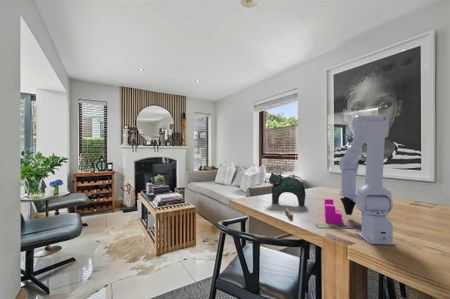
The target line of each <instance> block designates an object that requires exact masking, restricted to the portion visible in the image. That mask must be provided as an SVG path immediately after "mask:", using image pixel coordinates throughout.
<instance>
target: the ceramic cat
mask: <svg viewBox="0 0 450 299" xmlns="http://www.w3.org/2000/svg"><path fill="white" fill-rule="evenodd" d="M282 171H285V172H288V171H287V170H286V169H285V168H282V169H280V173H279V174H278V173H274V172H271V173H270V176H269V178H268V179H269V180H268V181H269V183H270V184H271V185H272V188H271V203H272V204H273V203H274V204H275V205H278V204H279V203H278V202H279V201H280V196H281V195H282V194H284V193H285V194H286V193H290V194H293V195H295V196H296V198H297V202H298V203H297V204H298V206H299V207H304V206H305V201H306V189H305V187H304V186H305V185H304V181H303V180H302V178H301V177H300V176H297V175H294V176H292V175H287V176H283V175H282V173H281V172H282ZM277 203H278V204H277Z"/></svg>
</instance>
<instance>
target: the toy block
mask: <svg viewBox="0 0 450 299" xmlns="http://www.w3.org/2000/svg"><path fill="white" fill-rule="evenodd" d="M324 221H325V223H324V224H333V225H343V214H342V212H341V209H340V210H339V209H336V205H335V204H334V198H324Z"/></svg>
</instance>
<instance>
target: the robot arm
mask: <svg viewBox="0 0 450 299" xmlns="http://www.w3.org/2000/svg"><path fill="white" fill-rule="evenodd" d="M351 126H352V130H353V138H352V142H351V145H349V146H347V148H346V150H345V153H344V154H343V155H344V156H342V157H340V159H339V162H338V163H339V166H338V167H339V170H340V171H341V173H340V174H341V190H340V191H339V196H341V197H340V199H339V200H340V201H341V203H342V205H343V209H344V213H345V215H348V216H352V214H353V212H354V208H355V206H356V208H357V209H358V211H359V212H361V225H362V229H361V231H356V235H358V236H359V237H360V238H362V239H363V240H365V241H366V242H368V244H371V245H373V244H374V245H394V246H395V245H396V242H394V241H393V239H394V238H393V237H394V236H393V235H394V234H393V231H394V230H393V228H394V227H393V223H392V222H391V221H390V220H389V219H388V218H387V216H389V214H390V213H391V212H392V210H393V208H394V202H393V199H392V192H391V191H390V190H389V189H387V188H386V187H385V186H383V184H384V183H383V181H384V178H383V177H384V159H385V157H384V156H385V140H386V139H385V138H388V137H389V129H390V119H389V118H388V117H387V116H386V114H376V115H375V114H374V115H373V114H371V115H369V114H368V115H367V114H365V115H362V114H357V115H355V116H354V117H353V119H352V123H351ZM365 142H366V154H365V156H366V158H365V180H364V185H362V186H360V187H359V188H358V189H357V175H358V169H359V165H360V164H359V161H360V158H361V157H362V153H363V149H362V147H363V145H364V143H365Z"/></svg>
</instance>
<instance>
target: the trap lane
mask: <svg viewBox="0 0 450 299" xmlns="http://www.w3.org/2000/svg"><path fill="white" fill-rule="evenodd" d="M284 210H285V211H284V212H285V214H286V216H287V218H288V219H289V220H290V221H293V220H294V214H292V212H291V211H290V209H289V208H287V207H285V209H284ZM315 226H316V227H317V228H318V229H319V228H321V229H337V226H338V227H339V228H340V229H345V230H346V229H347V230H348V229H351V230H352V229H353V230H354V229H357V230H362V224H359V225H358V224H353V225H351V224H337V226H336V225H335V224H333V223H323V224H322V223H315Z"/></svg>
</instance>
